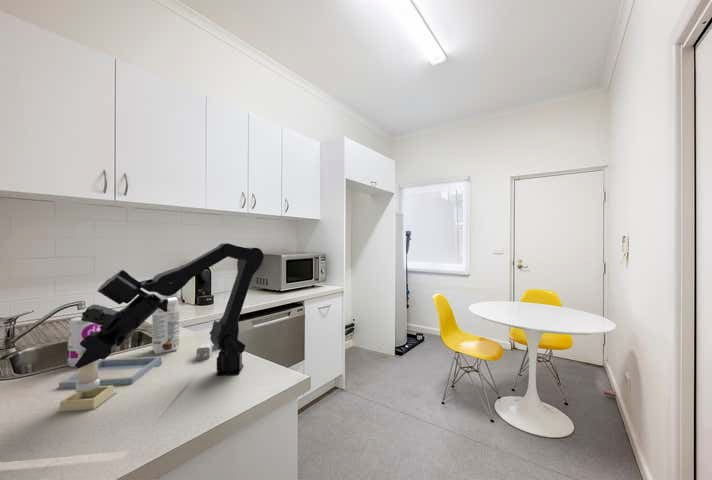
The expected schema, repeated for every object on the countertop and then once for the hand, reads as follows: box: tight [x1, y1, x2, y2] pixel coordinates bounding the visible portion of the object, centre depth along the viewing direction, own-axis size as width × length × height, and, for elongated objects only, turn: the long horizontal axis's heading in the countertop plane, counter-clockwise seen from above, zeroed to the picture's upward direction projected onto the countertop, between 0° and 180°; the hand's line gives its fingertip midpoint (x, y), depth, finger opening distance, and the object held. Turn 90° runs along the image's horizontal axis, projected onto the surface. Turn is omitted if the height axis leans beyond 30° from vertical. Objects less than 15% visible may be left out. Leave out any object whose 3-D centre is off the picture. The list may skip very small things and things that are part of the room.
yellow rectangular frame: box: [55, 385, 117, 414], centre depth 73 cm, size 8×8×3 cm
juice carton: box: [151, 297, 180, 355], centre depth 112 cm, size 8×9×19 cm
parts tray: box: [58, 356, 162, 390], centre depth 89 cm, size 18×16×2 cm
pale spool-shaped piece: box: [75, 343, 101, 392], centre depth 73 cm, size 4×4×11 cm
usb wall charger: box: [196, 342, 213, 361], centre depth 104 cm, size 4×7×4 cm, turn 16°
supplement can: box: [67, 316, 102, 368], centre depth 100 cm, size 8×8×15 cm
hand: (80, 363), depth 73 cm, fingers closed on pale spool-shaped piece, 4 cm apart
